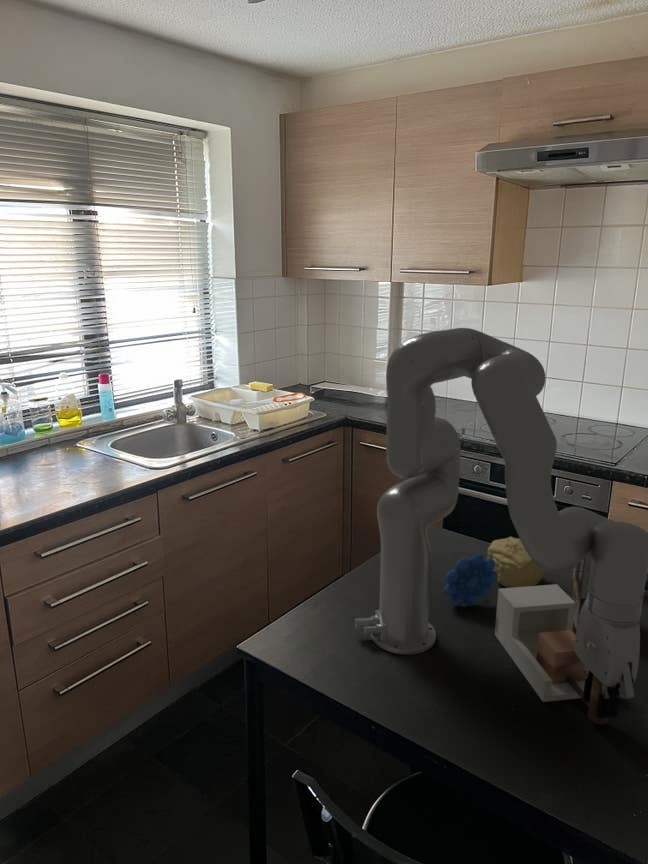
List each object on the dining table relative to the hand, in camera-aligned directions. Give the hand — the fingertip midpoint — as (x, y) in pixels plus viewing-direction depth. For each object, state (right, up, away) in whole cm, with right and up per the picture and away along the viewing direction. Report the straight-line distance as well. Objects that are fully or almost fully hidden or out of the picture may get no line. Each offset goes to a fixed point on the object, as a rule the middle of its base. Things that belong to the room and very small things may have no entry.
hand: (599, 707), depth 101 cm
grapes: (-13, +6, +36) cm, 39 cm away
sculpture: (0, +9, +45) cm, 46 cm away
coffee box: (+11, +5, +30) cm, 32 cm away
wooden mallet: (-1, 0, +7) cm, 7 cm away
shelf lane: (-2, +1, +16) cm, 17 cm away
